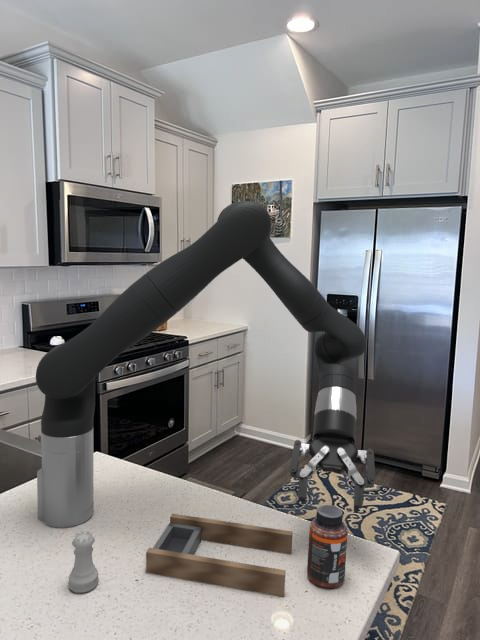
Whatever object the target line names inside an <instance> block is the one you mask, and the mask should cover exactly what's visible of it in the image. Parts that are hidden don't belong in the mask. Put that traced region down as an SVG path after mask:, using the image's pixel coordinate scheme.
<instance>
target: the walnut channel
mask: <svg viewBox="0 0 480 640" xmlns="http://www.w3.org/2000/svg"><path fill="white" fill-rule="evenodd" d="M169 523H175V524H181V525H188V526H194V527H201V528H202V531H201V541H206V542H210V543H211V542H212V543H217V544H222V545H223V544H224V545H230V546H237V547H243V548H249V549H253V550H261V551H268V552H275V553H280V554H286V555H292V552H293V549H292V548H293V533H294V532H293V531H292V530H285V529H278V528H272V527H265V526H260V525H259V526H258V525H253V524H252V525H251V524H244V523H239V522H231V521H224V520H217V519H211V518H205V517H200V516H199V517H196V516H190V515H186V514H179V513H171V515H170V517H169ZM145 552H146V553H145V573H146V574H153V575H157V576H158V575H159V576H163V577H170V578H175V579H181V580H187V581H192V582H196V583H197V582H198V583H203V584H207V585H208V584H209V585H214V586H220V587H226V588H230V587H231V588H232V589H236V590H242V591H248V592H249V591H250V592H253V593H259V594H266V595H271V596H277V597H282V598H284V597H285V589H286V571H287V570H286V569H281V568H280V569H279V568H273V567H268V566H262V565H256V564H249V563H245V562H238V561H234V560H233V561H231V560H226V559H219V558H215V557H208V556H202V555H197V554H194V555H191V554H185V553H179V552H173V551H166V550H160V549H154V548H153V547H148V548H147V550H146V551H145Z"/></svg>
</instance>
